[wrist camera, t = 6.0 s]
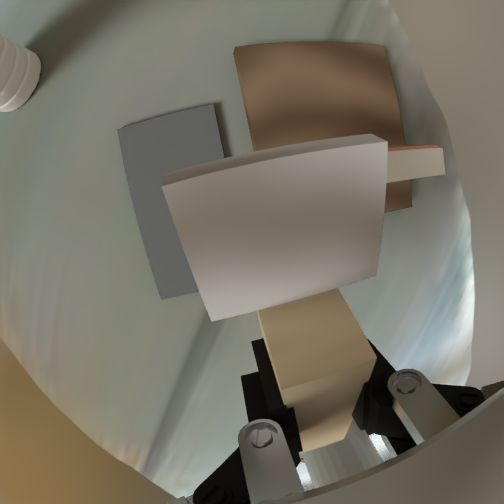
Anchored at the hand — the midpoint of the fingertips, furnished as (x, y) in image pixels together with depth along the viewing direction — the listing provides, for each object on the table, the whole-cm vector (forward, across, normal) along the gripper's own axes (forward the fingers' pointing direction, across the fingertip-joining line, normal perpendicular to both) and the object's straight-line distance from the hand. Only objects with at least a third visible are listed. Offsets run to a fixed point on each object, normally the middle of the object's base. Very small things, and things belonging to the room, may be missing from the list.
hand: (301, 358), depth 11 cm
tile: (+13, -9, -7) cm, 17 cm away
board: (+14, -9, -10) cm, 20 cm away
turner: (0, 0, -2) cm, 2 cm away
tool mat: (+14, +4, -6) cm, 16 cm away
